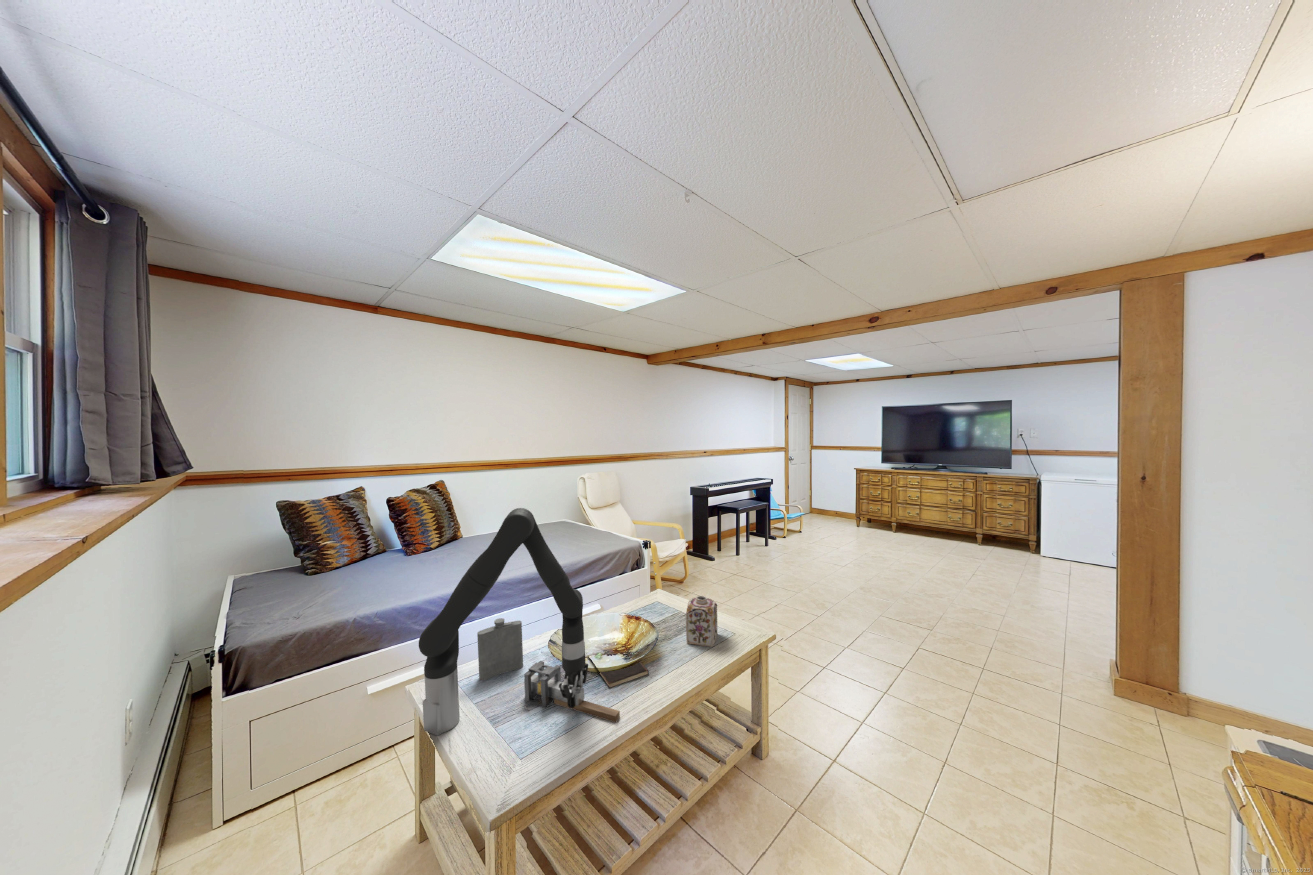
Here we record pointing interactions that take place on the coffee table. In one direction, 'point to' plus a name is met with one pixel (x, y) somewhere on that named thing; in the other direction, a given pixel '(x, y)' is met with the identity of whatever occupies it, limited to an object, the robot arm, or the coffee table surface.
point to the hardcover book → (624, 674)
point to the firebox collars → (546, 675)
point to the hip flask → (500, 649)
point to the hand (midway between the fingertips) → (575, 702)
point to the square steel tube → (555, 689)
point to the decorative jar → (701, 621)
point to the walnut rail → (593, 710)
